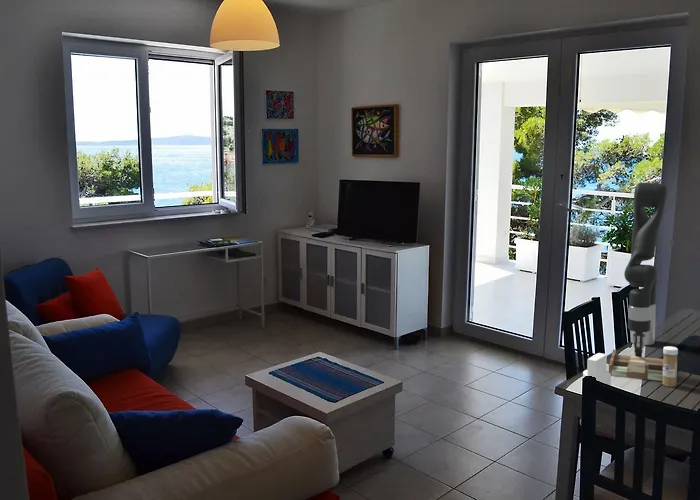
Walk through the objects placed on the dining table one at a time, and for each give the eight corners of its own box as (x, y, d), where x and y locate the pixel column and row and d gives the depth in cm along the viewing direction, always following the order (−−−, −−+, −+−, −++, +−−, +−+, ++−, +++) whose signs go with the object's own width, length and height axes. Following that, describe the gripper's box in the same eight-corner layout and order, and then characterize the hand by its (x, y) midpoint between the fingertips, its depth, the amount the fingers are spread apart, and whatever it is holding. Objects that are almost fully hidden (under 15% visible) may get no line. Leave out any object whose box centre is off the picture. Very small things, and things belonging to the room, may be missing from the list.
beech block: (630, 366, 232) (630, 356, 231) (645, 367, 229) (645, 357, 229) (629, 371, 226) (629, 361, 226) (644, 373, 224) (644, 362, 224)
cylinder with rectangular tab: (589, 383, 223) (590, 351, 221) (615, 389, 216) (615, 356, 214) (578, 390, 216) (578, 357, 215) (603, 396, 210) (604, 362, 208)
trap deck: (613, 359, 246) (613, 349, 246) (666, 364, 237) (667, 354, 237) (608, 374, 230) (608, 364, 229) (666, 381, 221) (666, 370, 220)
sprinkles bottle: (660, 385, 217) (661, 348, 215) (664, 381, 221) (665, 345, 219) (675, 388, 214) (676, 350, 212) (678, 384, 218) (679, 347, 216)
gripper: (650, 323, 222) (648, 369, 225) (651, 313, 234) (650, 358, 236) (627, 321, 226) (626, 367, 228) (629, 312, 237) (628, 355, 240)
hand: (638, 362), depth 232 cm, fingers closed
